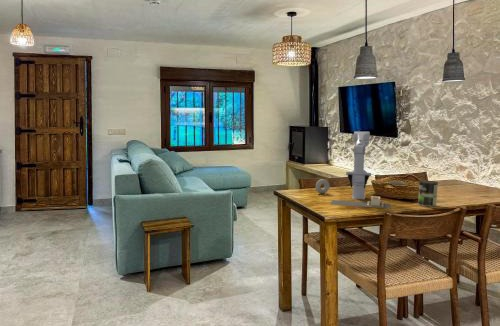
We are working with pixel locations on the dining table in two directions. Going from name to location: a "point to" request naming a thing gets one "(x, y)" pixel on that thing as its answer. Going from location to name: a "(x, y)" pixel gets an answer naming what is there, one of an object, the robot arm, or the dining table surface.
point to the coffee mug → (397, 183)
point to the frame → (374, 205)
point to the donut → (318, 186)
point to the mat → (356, 203)
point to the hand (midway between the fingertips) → (357, 187)
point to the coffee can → (427, 193)
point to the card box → (375, 200)
